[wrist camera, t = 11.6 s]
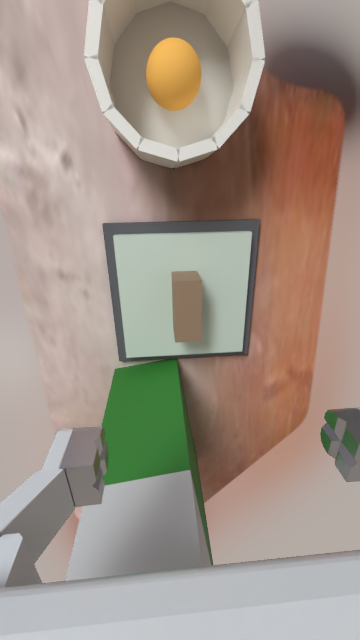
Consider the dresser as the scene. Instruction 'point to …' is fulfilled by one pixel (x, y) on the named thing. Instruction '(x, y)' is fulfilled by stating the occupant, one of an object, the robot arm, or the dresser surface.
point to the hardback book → (145, 482)
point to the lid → (183, 291)
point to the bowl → (216, 68)
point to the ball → (173, 74)
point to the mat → (177, 227)
